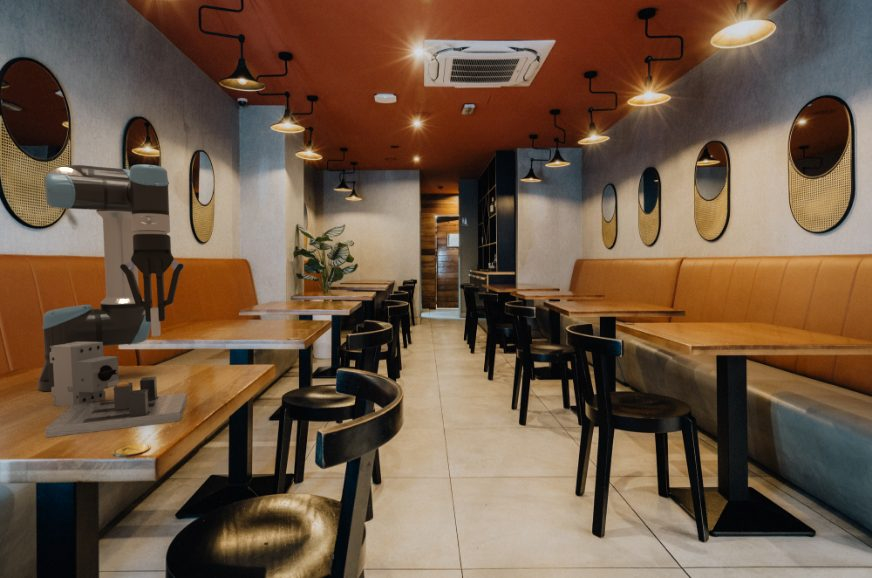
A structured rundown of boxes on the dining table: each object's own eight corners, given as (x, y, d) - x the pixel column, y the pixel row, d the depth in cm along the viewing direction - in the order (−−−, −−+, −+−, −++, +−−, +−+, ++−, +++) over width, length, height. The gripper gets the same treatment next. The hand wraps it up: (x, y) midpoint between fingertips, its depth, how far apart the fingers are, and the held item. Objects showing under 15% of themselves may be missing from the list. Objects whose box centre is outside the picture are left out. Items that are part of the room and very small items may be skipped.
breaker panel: (72, 413, 114) (71, 384, 114) (186, 400, 123) (185, 373, 123) (46, 437, 98) (44, 403, 97) (179, 420, 107) (178, 389, 107)
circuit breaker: (99, 407, 119) (96, 347, 118) (52, 405, 121) (49, 346, 121) (125, 399, 126) (122, 342, 125) (79, 397, 129) (76, 341, 128)
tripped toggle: (118, 405, 111) (117, 382, 111) (133, 403, 113) (132, 380, 112) (114, 409, 108) (113, 385, 108) (130, 407, 109) (129, 384, 109)
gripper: (114, 232, 105) (119, 339, 106) (182, 233, 110) (186, 335, 111) (121, 234, 112) (126, 335, 113) (184, 235, 117) (188, 331, 118)
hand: (156, 335), depth 112 cm, fingers closed
